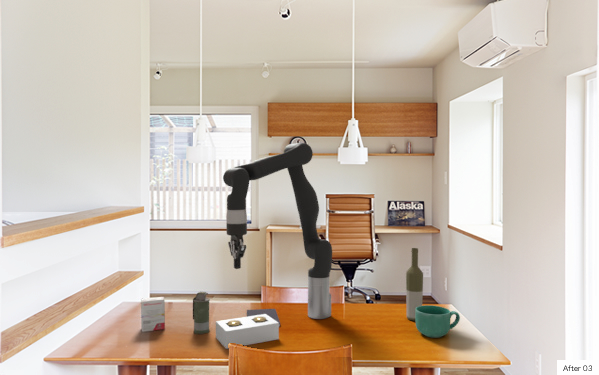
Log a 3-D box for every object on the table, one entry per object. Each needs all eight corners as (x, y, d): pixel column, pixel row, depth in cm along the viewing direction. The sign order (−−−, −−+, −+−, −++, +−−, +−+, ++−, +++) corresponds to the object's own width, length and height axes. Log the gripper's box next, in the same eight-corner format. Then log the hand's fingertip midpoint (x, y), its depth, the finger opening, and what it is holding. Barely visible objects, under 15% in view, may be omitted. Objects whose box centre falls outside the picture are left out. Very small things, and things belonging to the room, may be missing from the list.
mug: (419, 340, 156) (419, 314, 156) (412, 328, 168) (412, 304, 168) (465, 341, 155) (465, 315, 155) (455, 329, 167) (455, 305, 167)
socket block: (265, 329, 166) (265, 313, 166) (278, 339, 156) (278, 322, 156) (215, 337, 157) (215, 321, 157) (226, 348, 146) (226, 331, 146)
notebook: (246, 313, 188) (248, 329, 167) (246, 309, 188) (248, 325, 167) (275, 312, 190) (280, 328, 169) (275, 308, 190) (280, 324, 169)
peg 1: (237, 336, 157) (238, 319, 157) (242, 340, 153) (242, 323, 153) (225, 338, 155) (226, 321, 155) (230, 343, 151) (230, 325, 151)
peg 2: (262, 332, 162) (263, 315, 162) (267, 336, 158) (267, 319, 158) (251, 334, 160) (251, 317, 160) (256, 338, 155) (256, 321, 155)
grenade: (212, 329, 165) (212, 291, 165) (204, 334, 160) (204, 295, 159) (198, 327, 167) (198, 289, 167) (189, 332, 162) (189, 293, 161)
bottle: (425, 321, 177) (426, 249, 176) (408, 322, 176) (409, 249, 176) (419, 316, 184) (419, 247, 183) (403, 316, 183) (404, 247, 183)
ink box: (164, 325, 169) (164, 296, 169) (165, 329, 165) (165, 299, 165) (141, 328, 166) (141, 298, 166) (141, 332, 162) (141, 301, 162)
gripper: (253, 222, 154) (253, 270, 154) (239, 219, 165) (240, 264, 166) (233, 224, 150) (233, 272, 150) (221, 220, 162) (221, 266, 162)
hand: (237, 268), depth 158 cm, fingers closed
